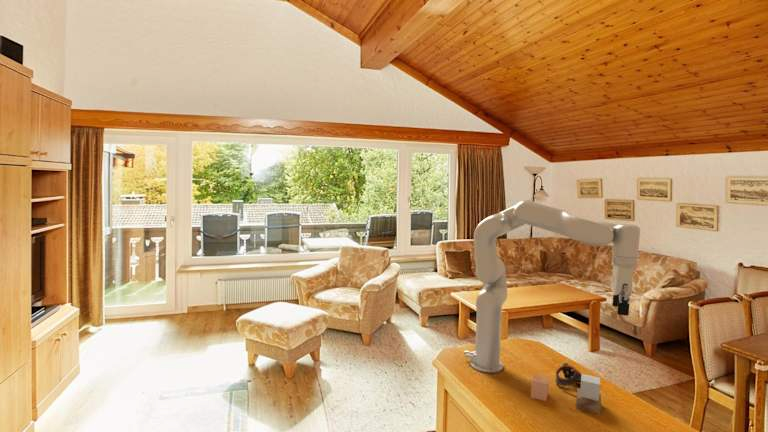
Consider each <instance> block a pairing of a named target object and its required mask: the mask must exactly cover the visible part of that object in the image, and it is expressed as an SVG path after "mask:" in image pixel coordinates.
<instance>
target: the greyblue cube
mask: <svg viewBox="0 0 768 432" xmlns="http://www.w3.org/2000/svg"><path fill="white" fill-rule="evenodd" d="M579 388H580V397H583V398H587V399H592V400H596V401H599V393H601V392H600V390H601V377H598V376H594V375H590V374H585V373H581V383H580V387H579Z"/></svg>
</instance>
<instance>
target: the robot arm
mask: <svg viewBox="0 0 768 432" xmlns="http://www.w3.org/2000/svg"><path fill="white" fill-rule="evenodd" d="M524 225H528V226H531V227H535V228H539V229H541V230H545V231H548V232H552V233H554V234H557V235H560V236H563V237H566V238H569V239H572V240H575V241H579V242H582V243H585V244H589V245H592V246H596V247H605V246H608V245H609V244H611V243H612V252H611V253H612V254H611V261H610V262H611V263H610V264H611V265H612V266H613V268H612V275H611V280H610V281H611V282H610V290H611V292H612V293H613V295H612V307H617V309H616V311H617V312H616V313H617V315H619V316H626V317H627V316H629V315H630V314H629V313H630V297H631V296H632V294H633V293H632V292H633V279H634V268H637V267H638V259H639V258H638V257H639V246H640V237H641V228H640V227H639V226H638V225H637V224H636V225H635V224H631V223H629V224H628V223H618V224H616V223H611V222H607V221H597V222H595V221H592V220H589V219H585V218H582V217H579V216H576V215H573V214H571V213H569V212H567V211H566V210H563V209H560V208H558V207H557V208H556V207H552V206H549V205H545V204H542V203H538V202H536V201H534V200H533V199H532V200H531V199H524V200H520V201H518V202H517V203H516V204H515V205H513V206H510V207H509V208H506V209H504V210H502V211H500V212H497V213H494V214H492V215H489V216H486V217H485V218H484V219H483V220H481V221H480V222H479V223H478V224H477V226H476V227H475V230H474V232H473V248H474V260H475V262H474V263H475V273H476V278H477V279H478V280H479V282H481V283H482V286H483V288H482V289H481V290H479V292H478V294H477V296H476V301H475V308H476V309H475V310H476V321H475V322H476V323H475V343H474V344H475V346H474V350H472V351H471V350H466V349H465V350H464V352H463V355H464V356H465V358H467V359H470V362H469V364H470V366H471V367H472V368H473V369H475V370H477V371H479V372H483V373H492V374H495V373H499V372H501V371H502V370H503V369H504V364H503V362H502V361H501V360H500V357H501V339H502V322H503V321H502V316H503V314H502V308H503V305H504V303H505V302H506V300H507V298H508V285H507V275H506V266H505V264H504V262H503V261H502V259H501V258H500V257H499V256H498V247H497V238H498V237H501V236H503V235H506V234H508V233H509V232H512V231H514V230H516V229H518V228H521V227H522V226H524Z"/></svg>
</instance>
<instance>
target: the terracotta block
mask: <svg viewBox="0 0 768 432" xmlns="http://www.w3.org/2000/svg"><path fill="white" fill-rule="evenodd" d="M549 379H550V378H549V377H546V376H542V375H538V374H533V375H532V379H531V387H530V398H532V399H535V400H540V401H545V402H547V400H548V396H549V395H548V394H549V383H550V381H549Z"/></svg>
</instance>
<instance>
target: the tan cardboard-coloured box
mask: <svg viewBox="0 0 768 432" xmlns="http://www.w3.org/2000/svg"><path fill="white" fill-rule="evenodd" d="M575 401H576V404H575V409H577V410H581V411H584V412H585V411H586V412H588V413H589V412H590V413H593V414H597V415H601V410H602V394H601V392H599V401H596V400H592V399H587V398H583V397H580V387H577V390H576V400H575Z"/></svg>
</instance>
